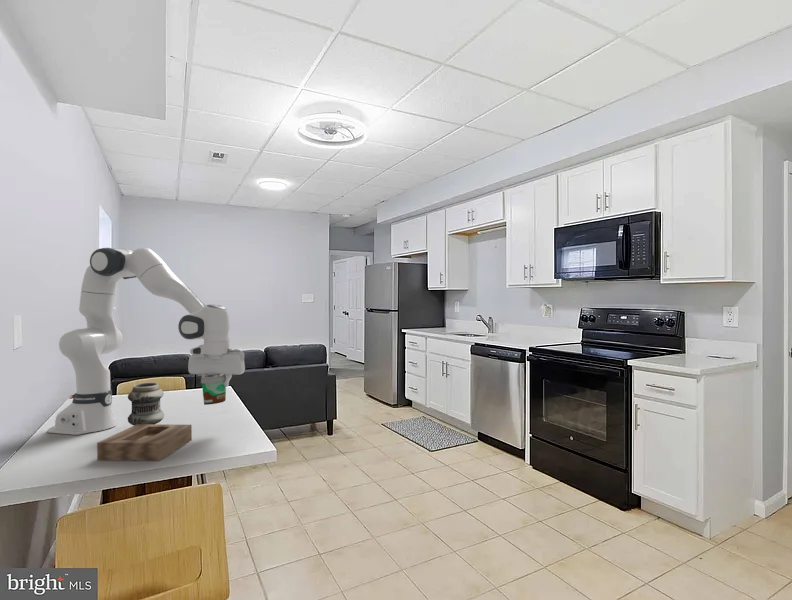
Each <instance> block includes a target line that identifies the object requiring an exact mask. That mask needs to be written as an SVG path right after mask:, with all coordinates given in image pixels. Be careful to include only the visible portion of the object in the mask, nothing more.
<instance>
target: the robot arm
mask: <svg viewBox="0 0 792 600" xmlns="http://www.w3.org/2000/svg"><path fill="white" fill-rule="evenodd" d="M89 264H90V265H89V266H87V268H86V269H85V272H84V275H83V277H82V278H83V279H82V283H81V288H80V289H81V291H80V297H79V298H80V299H79V308H78V309H79V313H80V314H81V315H82V316H83V317H84V319H85V321H86V327H85V328H84V327H83V328H76V329H73V330H71V331H68V332H66V333H64V334H63V335H62V336H61V337H60V339H59V341H58V348H59V352H60V353H61V354H62V355H63V357H64V356H65V357H66V358H68V359H67V360H69V361H70V362H71V365H72V367H73V369H74V373H75V383H76V384H75V387H76V392H75V393H73V394H71V395H70V397H69V400H71V399H72V401H71V403H70V404H69V405H67V406H66V407H65V408H64V409H62V410H60V412H59V413H58V414H57V415H56V416H55V420H54V421H55V422H54V426H53V425H52V426H51V427H49V428H48V429H47V433H49V434H50V433H51V434H60V435H61V434H62V435H74V436H77V435H84V434H89V433H95V432H100V431H104V430H105V431H106V430H110V429H111V428H113V427H115V426H116V425H117V423H116V419H115V416H114V413H113V406H112V402H113V391H112V389H111V371H110V370H111V369H109V368H108V367H107V366H105V365H104V363H103V361H102V358H101V355H105V354H109V353H112V352H114V351H116V350H117V349H119V348H120V347H121V346H122V344H123V342H124V336H123V334H122V333H123V332H121V331H120V330H119V328H118V327H117V326H116V321H115V318H114V307H115V306H114V305H115V296H116V286H117V282H118V281H119V280H120V279H123V280H127V279H135V278H137V279H138V280H139V282H140V283H141V285H142V286H143V287H144V288H145V289H146V290H147V291H148V292H149V293H151V294H152V295H154V296H157V297H161V298H165V299H167V300H168V299H169V300H172V301H174V302H177V303H178V304H180V305H182V307H183V308H184V310H186V311H187V312H188V314H186V315H185V314H184V315H183V316H182V317H181V318H180V319H179V321H178V325H177V328H178V332H179V334H180V336H181V337H182V338H184V339H185V340H191V341H195V340H201V339H203V344H200V345H198V346H196V347H192V348H190V351H189V354H190V356H189V358H188V364H187V368H188V369H187V371H188V373H189V374H190V375H201V377H209V375H218V374H226V377H227V379H226V381H225V382H223V386H224V387H226V388H227V387H229V385H230V380H231V379H232V377H233V376H234V375H242V374H244V373H245V370H246V365H245V363H246V362H245V352H244V351H243V350H242V349H240V348H237V349H236V348H230V337H229V331H230V316H229V311H228V308H227V307H225V306H223V305H219V304H205V303H203V301H202V300H201V299H200V298H199V297H198V296H197V295H196V294H195V292H193V291H192V290H191V289H190V288H189V287H188V286H187V284H186V283H184V282H183V281H182V280H180V278H179V277H178V276H177V275H176V274H175V273H174V271H172V270H171V268H170V267H169V266H168V265H167V263H166V262H165V261H164V260H163V259H162V257H161V256H159V255H158V254H157V252H155V251H154V250H153V249H152V248H148V247H139V248H137V249H135V250H131V249H127V248H113V247H112V248H111V247H102V248H97V249H96V250H94V251H93V252H92V253H91V255H90V257H89Z"/></svg>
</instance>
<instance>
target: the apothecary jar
mask: <svg viewBox="0 0 792 600" xmlns="http://www.w3.org/2000/svg"><path fill="white" fill-rule="evenodd" d="M163 396H164V391H163V389H161V388H160V386H159V383H158V382H155V381H154V382H153V381H151V382H149V381H148V382H141V383H136V384H134V385H132V389H131V391H130V392H129V393H128V395H127V398H128V400H129V402H131V413H130V414H129V415H128V417H127V422H128V423H129V424H130V425H132V426H134V425H136V424H160V422H161V421H162V420H163V419H164V417H165V413H164V411H163V410H162V409H161V408H162V407H161V399H162V397H163Z"/></svg>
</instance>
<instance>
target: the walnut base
mask: <svg viewBox="0 0 792 600" xmlns="http://www.w3.org/2000/svg"><path fill="white" fill-rule="evenodd" d="M192 432H193V431H192V424H160V423H157V424H136V425H132V426H130V427H128V428H126V429H124V430H122V431H120V432H117V433H115V434H112V435H110V436H109V437H106V438H103V439H102V440H99V441H98V442H96V452H97V459H96V460H97V461H127V460H137V461H138V460H139V461H141V462H142V460H143V462H150V461H152V462H159V461H161V459H162V460H163V459H165V458H166V457H168V456H170V455H171V454H172V452H173V451H174V452H176V451H177V450H179V449H180V448H182V447H184V446H185V445H186V443H187V444H188V443H190V442H191V441H192V438H193V437H192V436H193V434H192ZM189 441H190V442H189ZM181 446H182V447H181ZM178 448H179V449H178ZM175 450H176V451H175ZM174 452H173V453H174ZM167 455H168V456H167ZM164 457H165V458H164ZM144 460H145V461H144ZM139 461H138V462H139Z"/></svg>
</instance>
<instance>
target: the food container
mask: <svg viewBox="0 0 792 600" xmlns="http://www.w3.org/2000/svg"><path fill="white" fill-rule="evenodd" d="M226 379H227V377H226V374H214V375H209V376H207V377H202V376H201V379H200V384H201V388H202V397H203V404H204V406H206V405H208V406H209V405H216V404H220V403H221V404H222V403H224V402H226V399H227V398H226V397H227V387H224V386H223V382H225V381H226Z"/></svg>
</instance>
